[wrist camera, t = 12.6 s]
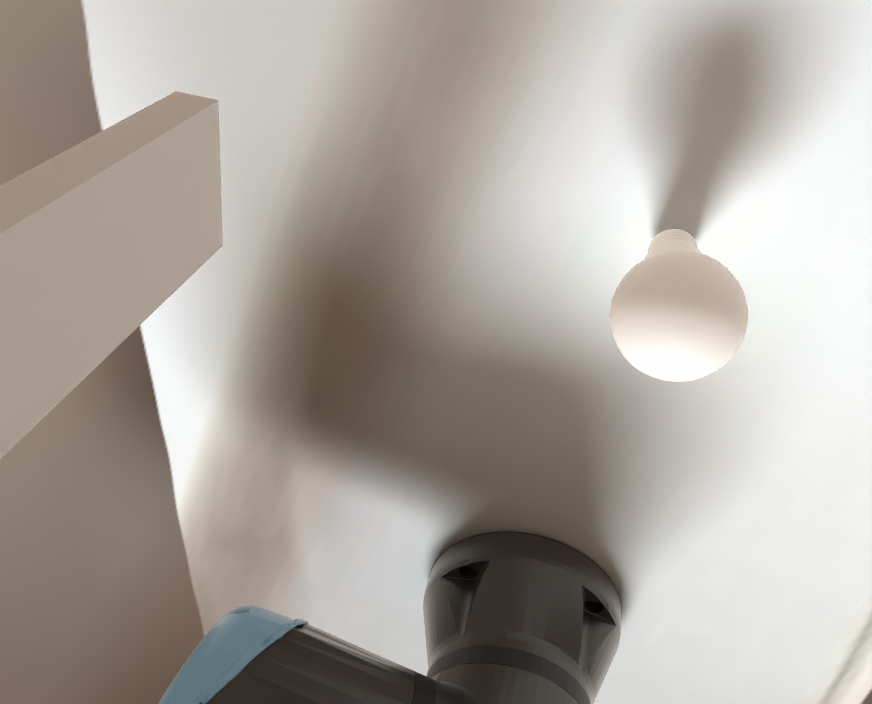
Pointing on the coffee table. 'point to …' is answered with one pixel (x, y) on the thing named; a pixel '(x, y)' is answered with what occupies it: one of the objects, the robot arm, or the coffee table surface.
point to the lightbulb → (678, 311)
